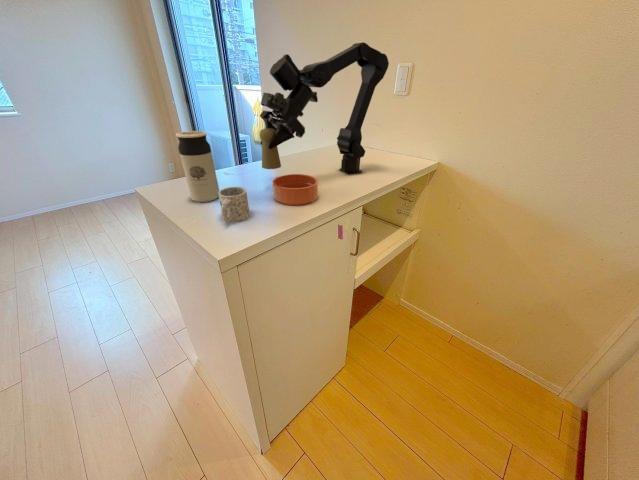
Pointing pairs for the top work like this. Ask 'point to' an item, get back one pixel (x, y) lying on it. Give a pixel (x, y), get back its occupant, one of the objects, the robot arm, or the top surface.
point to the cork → (269, 150)
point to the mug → (234, 204)
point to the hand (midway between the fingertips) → (265, 146)
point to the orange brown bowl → (295, 189)
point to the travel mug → (198, 165)
